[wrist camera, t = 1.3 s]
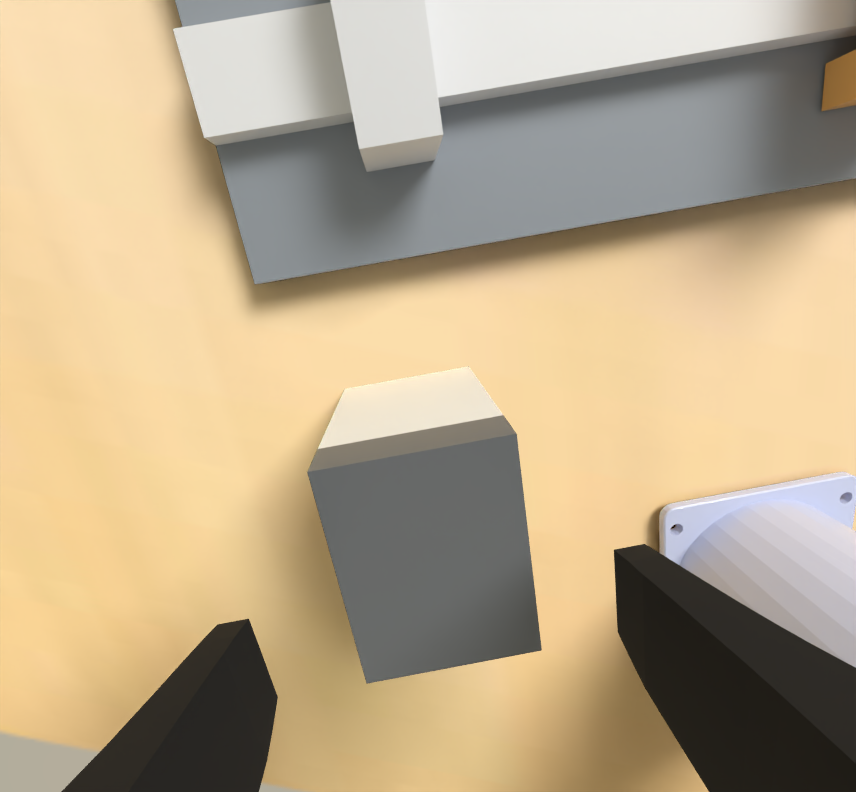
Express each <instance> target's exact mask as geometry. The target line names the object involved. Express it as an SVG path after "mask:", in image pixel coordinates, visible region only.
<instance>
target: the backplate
mask: <svg viewBox="0 0 856 792" xmlns="http://www.w3.org/2000/svg"><path fill="white" fill-rule="evenodd" d="M175 2H176V6H177V9H178V13H179V16H180V20H181V23H182V27H180V28H174V29H173V31H174V35H175V38H176V41H177V45H178V48H179V52H180V55H181V59H182V62H183V66H184V69H185V73H186V76H187V80H188V83H189V87H190V90H191V94H192V97H193V101H194V104H195V108H196V111H197V115H198V118H199V122H200V125H201V129H202V132H203V136H204V138H205V139H207V140H208V141H210V142H211V143H213V144H214V145H216V148H217V152H218V155H219V159H220V162H221V166H222V169H223V173H224V177H225V180H226V184H227V187H228V191H229V194H230V198H231V201H232V205H233V209H234V212H235V216H236V219H237V223H238V226H239V230H240V233H241V237H242V241H243V244H244V248H245V251H246V255H247V258H248V262H249V266H250V269H251V273H252V276H253V280H254V283H255V284H262V283H268V282H274V281H280V280H285V279H291V278H297V277H302V276H308V275H314V274H319V273H325V272H330V271H336V270H342V269H347V268H353V267H359V266H364V265H370V264H376V263H381V262H387V261H393V260H398V259H404V258H409V257H415V256H421V255H426V254H432V253H438V252H443V251H449V250H455V249H460V248H466V247H472V246H477V245H483V244H489V243H494V242H500V241H505V240H511V239H517V238H522V237H528V236H534V235H539V234H545V233H551V232H556V231H562V230H568V229H573V228H579V227H585V226H590V225H596V224H601V223H607V222H613V221H618V220H624V219H630V218H635V217H641V216H647V215H652V214H658V213H664V212H669V211H675V210H681V209H686V208H692V207H697V206H703V205H709V204H714V203H720V202H726V201H731V200H737V199H743V198H748V197H754V196H760V195H765V194H771V193H777V192H782V191H788V190H793V189H799V188H805V187H810V186H816V185H822V184H827V183H833V182H839V181H844V180H850V179H856V105H855V106H849V107H843V108H838V109H832V110H826V111H822V100H823V89H824V78H825V67H826V63H828V62H830V61H833V60H835V59H837V58H839V57H841V56H843V55H845V54H847V53H849V52H851V51H853V50H856V0H175Z"/></svg>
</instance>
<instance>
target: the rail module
mask: <svg viewBox="0 0 856 792" xmlns="http://www.w3.org/2000/svg"><path fill="white" fill-rule="evenodd" d="M307 473H308V476H309V480H310V483H311V487H312V491H313V494H314V498H315V501H316V505H317V508H318V512H319V515H320V519H321V523H322V526H323V530H324V533H325V537H326V540H327V544H328V547H329V551H330V555H331V558H332V562H333V565H334V569H335V572H336V576H337V579H338V583H339V587H340V590H341V594H342V597H343V601H344V604H345V608H346V612H347V615H348V619H349V622H350V626H351V629H352V633H353V636H354V640H355V644H356V647H357V651H358V654H359V658H360V661H361V665H362V668H363V672H364V676H365V679H366V683H372V682H377V681H383V680H388V679H393V678H399V677H404V676H409V675H414V674H420V673H425V672H430V671H435V670H441V669H446V668H451V667H456V666H462V665H467V664H472V663H477V662H483V661H488V660H493V659H499V658H504V657H509V656H514V655H520V654H525V653H530V652H535V651H541V650H542V649H541V641H540V632H539V623H538V615H537V606H536V597H535V589H534V580H533V572H532V563H531V554H530V546H529V537H528V529H527V520H526V511H525V503H524V494H523V485H522V477H521V468H520V460H519V451H518V442H517V434H516V432H515V431H514V430H513V428H512V427H511V425H510V424H509V422H508V421H507V420H506V418H505V417H504V415H503V414H502V413H501V411H500V410H499V408H498V407H497V406H496V404H495V403H494V401H493V400H492V398H491V397H490V396H489V394H488V393H487V391H486V390H485V389H484V387H483V386H482V384H481V383H480V382H479V380H478V379H477V377H476V376H475V374H474V373H473V372H472V370H471V369H470V367H469V366H468V367H463V368H457V369H452V370H446V371H441V372H435V373H430V374H424V375H418V376H413V377H407V378H402V379H396V380H391V381H385V382H380V383H374V384H369V385H363V386H358V387H352V388H347V389H344V392H343V394H342V396H341V398H340V401H339V403H338V405H337V407H336V409H335V412H334V414H333V416H332V418H331V421H330V423H329V425H328V427H327V429H326V432H325V434H324V436H323V438H322V441H321V443H320V445H319V447H318V449H317V452H316V454H315V456H314V458H313V461H312V463H311V465H310V467H309V469H308V472H307Z"/></svg>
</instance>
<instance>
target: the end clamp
mask: <svg viewBox="0 0 856 792" xmlns="http://www.w3.org/2000/svg"><path fill="white" fill-rule="evenodd" d="M855 105H856V50H853V51H851V52H849V53H847V54H845V55H843V56H841V57H839V58H837V59H835V60H833V61H830V62H828V63H826V67H825V78H824V89H823V100H822V111H826V110H832V109H838V108H843V107H849V106H855Z"/></svg>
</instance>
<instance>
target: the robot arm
mask: <svg viewBox="0 0 856 792" xmlns="http://www.w3.org/2000/svg"><path fill="white" fill-rule="evenodd" d="M855 506H856V477H855V476H853V475H851V474H849V473H846V472H837V473H832V474H826V475H821V476H816V477H810V478H805V479H799V480H794V481H789V482H783V483H778V484H773V485H767V486H762V487H757V488H751V489H746V490H740V491H735V492H730V493H724V494H719V495H714V496H708V497H703V498H698V499H692V500H687V501H682V502H676V503H671V504H668V505H666V506H665V507H664V508H663V509H662V510H661V512H660V515H659V537H660V553H659V552H657V551H655V550H654V549H652V548H650V547H649V546H647V545H645V544H643V545H637V546H632V547H627V548H621V549H616V550H614V560H615V582H616V604H617V625H618V633H619V635H620V638H621V640H622V642H623V644H624V646H625V648H626V650H627V652H628V654H629V656H630V659H631V661H632V663H633V665H634V667H635V669H636V671H637V673H638V675H639V677H640V679H641V681H642V683H643V685H644V687H645V689H646V690H647V692H648V693H649V695H650V697H651V698H652V700H653V702H654V703H655V705H656V707H657V708H658V710H659V712H660V713H661V715H662V716H663V718H664V720H665V721H666V723H667V725H668V726H669V728H670V729H671V731H672V733H673V734H674V736H675V738H676V739H677V741H678V742H679V744H680V746H681V747H682V749H683V750H684V752H685V754H686V755H687V757H688V758H689V760H690V762H691V763H692V765H693V766H694V768H695V770H696V771H697V773H698V774H699V776H700V778H701V779H702V781H703V782H704V784H705V786H706V787H707V789H708V791H709V792H856V531H854V530H853V529H852V526H853V520H854V513H855ZM675 524H677V525H676V526H675V527H674V528H673V529H671V527H672V526H673V525H675ZM670 529H671V530H670ZM277 698H278V697H277V694H276V691H275V689H274V686H273V683H272V680H271V678H270V675H269V672H268V670H267V667H266V664H265V661H264V659H263V656H262V653H261V651H260V648H259V645H258V642H257V640H256V637H255V634H254V632H253V629H252V626H251V623H250V621H249V619H245V620H240V621H234V622H229V623H224V624H219V625H217V626H216V627H215V628H214V629H213V630H212V631H211V632H210V633H209V634H208V635H207V636H206V637H205V638H204V639H203V640H202V641H201V642H200V644H199V645H198V646H197V647H196V648H195V649H194V650H193V651H192V652H191V653H190V654H189V656H188V657H187V658H186V659H185V660H184V661H183V662H182V663H181V664H180V665H179V667H178V668H177V669H176V670H175V671H174V672H173V673H172V674H171V675H170V677H169V678H168V679H167V680H166V681H165V682H164V683H163V684H162V685H161V686H160V688H159V689H158V690H157V691H156V692H155V693H154V694H153V695H152V696H151V697H150V699H149V700H148V701H147V702H146V703H145V704H144V705H143V706H142V707H141V708H140V709H139V711H138V712H137V713H136V714H135V715H134V716H133V717H132V718H131V719H130V720H129V721H128V723H127V724H126V725H125V726H124V727H123V728H122V729H121V730H120V731H119V732H118V733H117V735H116V736H115V737H114V738H113V739H112V740H111V741H110V742H109V743H108V744H107V745H106V746H105V747H104V748H103V749H102V751H101V752H100V753H99V754H98V755H97V756H96V757H95V758H94V759H93V760H92V761H91V762H90V763H89V764H88V765H87V766H86V767H85V768H84V769H83V770H82V771H81V772H80V773H79V774H78V775H77V776H76V777H75V778H74V779H73V780H72V782H71V783H70V784H69V785H68V786H67V787H66V788H65V789H64V790H63V791H62V792H259V789H260V785H261V781H262V778H263V774H264V770H265V766H266V762H267V757H268V752H269V746H270V741H271V735H272V730H273V723H274V717H275V711H276V704H277Z"/></svg>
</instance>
